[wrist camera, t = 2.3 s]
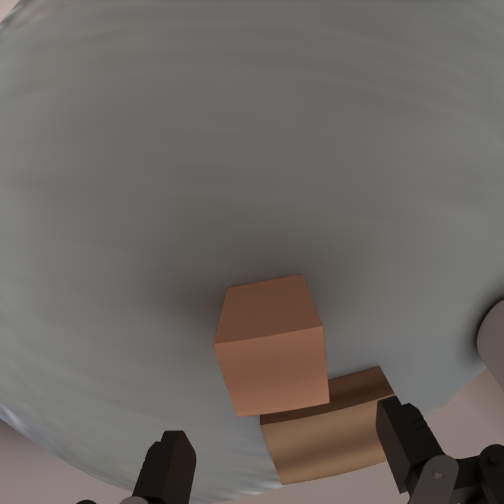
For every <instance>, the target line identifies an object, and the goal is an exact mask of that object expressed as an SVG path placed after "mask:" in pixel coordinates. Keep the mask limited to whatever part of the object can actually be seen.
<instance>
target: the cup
mask: <svg viewBox="0 0 504 504" xmlns="http://www.w3.org/2000/svg"><path fill="white" fill-rule="evenodd" d="M477 350H478V353H479V355H480V357H481V359H482V361H483V362H484V363H485V365H486V366H487V368H488V369H489V370H490V372H491V373H492V374H493V376H494V377H495V379H496V380H497V382H498V383H499V385H500V386H501V388H502V389H503V390H504V300H502V301H500V302H499V303H497V304H496V305H495V306H494V307H493V308H492V309H491V310H490V311H489V313H488V314H487V316H486V317H485V319H484V320H483V322H482V324H481V327H480V329H479V332H478V337H477Z"/></svg>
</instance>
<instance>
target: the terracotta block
mask: <svg viewBox="0 0 504 504" xmlns="http://www.w3.org/2000/svg"><path fill="white" fill-rule="evenodd" d="M213 346H214V349H215V352H216V356H217V359H218V362H219V365H220V368H221V371H222V374H223V377H224V380H225V383H226V386H227V389H228V392H229V395H230V398H231V400H232V403H233V406H234V409H235V412H236V415H237V417H243V416H252V415H260V414H268V413H275V412H282V411H288V410H294V409H300V408H306V407H311V406H316V405H321V404H326V403H329V389H328V377H327V365H326V354H325V344H324V334H323V325H322V323H321V320H320V318H319V315H318V313H317V310H316V308H315V305H314V303H313V300H312V298H311V295H310V293H309V290H308V288H307V285H306V283H305V280H304V278H303V275H302V274H299V275H294V276H288V277H283V278H278V279H272V280H267V281H262V282H256V283H251V284H245V285H239V286H234V287H228V288H227V291H226V295H225V299H224V303H223V307H222V311H221V314H220V318H219V322H218V326H217V330H216V334H215V338H214V342H213Z"/></svg>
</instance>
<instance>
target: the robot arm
mask: <svg viewBox="0 0 504 504" xmlns="http://www.w3.org/2000/svg"><path fill="white" fill-rule="evenodd" d="M376 432H377V435H378V438H379V441H380V443H381V446H382V448H383V451H384V453H385V456H386V458H387V461H388V463H389V466H390V468H391V471H392V474H393V476H394V479H395V482H396V484H397V487H398V490H399V492H400V494H401V493H404V492H406V491H408V493H409V495H410V499H409V501H408V504H458V503H460V504H504V446H502V445H499V444H494V445H490V446H488V447H486V448H485V449H484V450H483V451H482V452H481V454H480V455H478V456H474V457H469V458H464V459H454V458H452V457H450V456H447V455H446V454H445V453H444V452H443V451H442V449H441V447H440V445H439V444H438V442H437V440H436V438H435V437H434V435H433V433H432V432H431V430H430V428H429V427H428V425H427V423H426V421H425V420H424V418H423V416H422V414H421V413H420V411H419V409H417V408H416V407H415V406H413V405H412V404H410V403H407V404H404V405H401V403H400V401H399V399H398V398H397V396H395V395H394V396H391V397H388V398H384V399H381V400H378V402H377V412H376ZM142 467H143V468H142V469H141V471H140V474H139V477H138V480H137V483H136V486H135V489H134V492H133V494H132V496H131V497H128V498H125V499H124V500H122V501H121V502H120V504H188V503H189V498H190V493H191V488H192V482H193V477H194V472H195V467H196V453H195V451H194V449H193V447H192V445H191V443H190V442H189V440H188V438H187V436H186V434H185V433H184V431H182V430H180V431H165V432H164V433H163V436H162V439H161V442H155V443H154V444H153V445H152V446H151V447H150V448H149V449H148V452H147V454H146V457H145V461H144V463H143V466H142ZM77 504H96V503H95V502H93V501H91V500H82V501H80V502H78V503H77Z"/></svg>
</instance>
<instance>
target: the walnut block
mask: <svg viewBox="0 0 504 504" xmlns="http://www.w3.org/2000/svg"><path fill="white" fill-rule="evenodd" d="M328 389H329V403H326V404H321V405H316V406H311V407H306V408H300V409H294V410H288V411H282V412H275V413H268V414H260V426H261V429H262V432H263V435H264V438H265V440H266V443H267V446H268V449H269V451H270V454H271V457H272V460H273V462H274V465H275V468H276V470H277V473H278V476H279V478H280V481H281V484H282V485H286V484H293V483H299V482H305V481H311V480H316V479H321V478H326V477H330V476H335V475H339V474H343V473H347V472H351V471H355V470H358V469H362V468H366V467H369V466H372V465H376V464H378V463H382V462H385V461H386V456H385V453H384V451H383V448H382V446H381V443H380V441H379V438H378V435H377V432H376V412H377V402H378V400H381V399H384V398H388V397H391V396H394V392H393V390H392V388H391V386H390V384H389V383H388V381H387V379H386V377H385V375H384V374H383V372H382V370H381V368H380V366H378V367H374V368H371V369H368V370H364V371H361V372H357V373H353V374H350V375H346V376H342V377H338V378H334V379H330V380H328Z"/></svg>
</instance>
